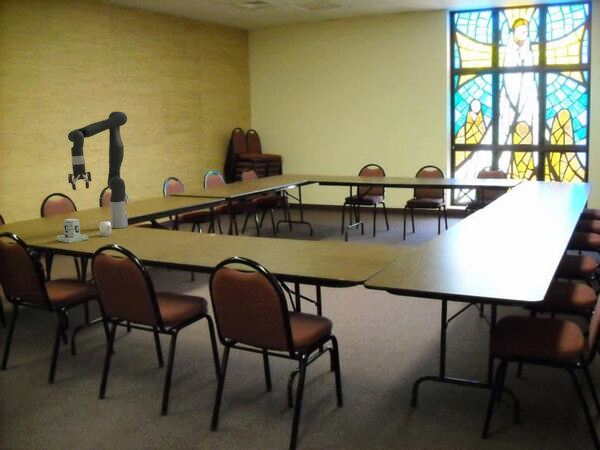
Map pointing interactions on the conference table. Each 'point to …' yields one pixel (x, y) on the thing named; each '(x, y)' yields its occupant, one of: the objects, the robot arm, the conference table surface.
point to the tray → (72, 240)
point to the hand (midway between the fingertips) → (80, 189)
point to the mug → (105, 228)
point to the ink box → (71, 228)
